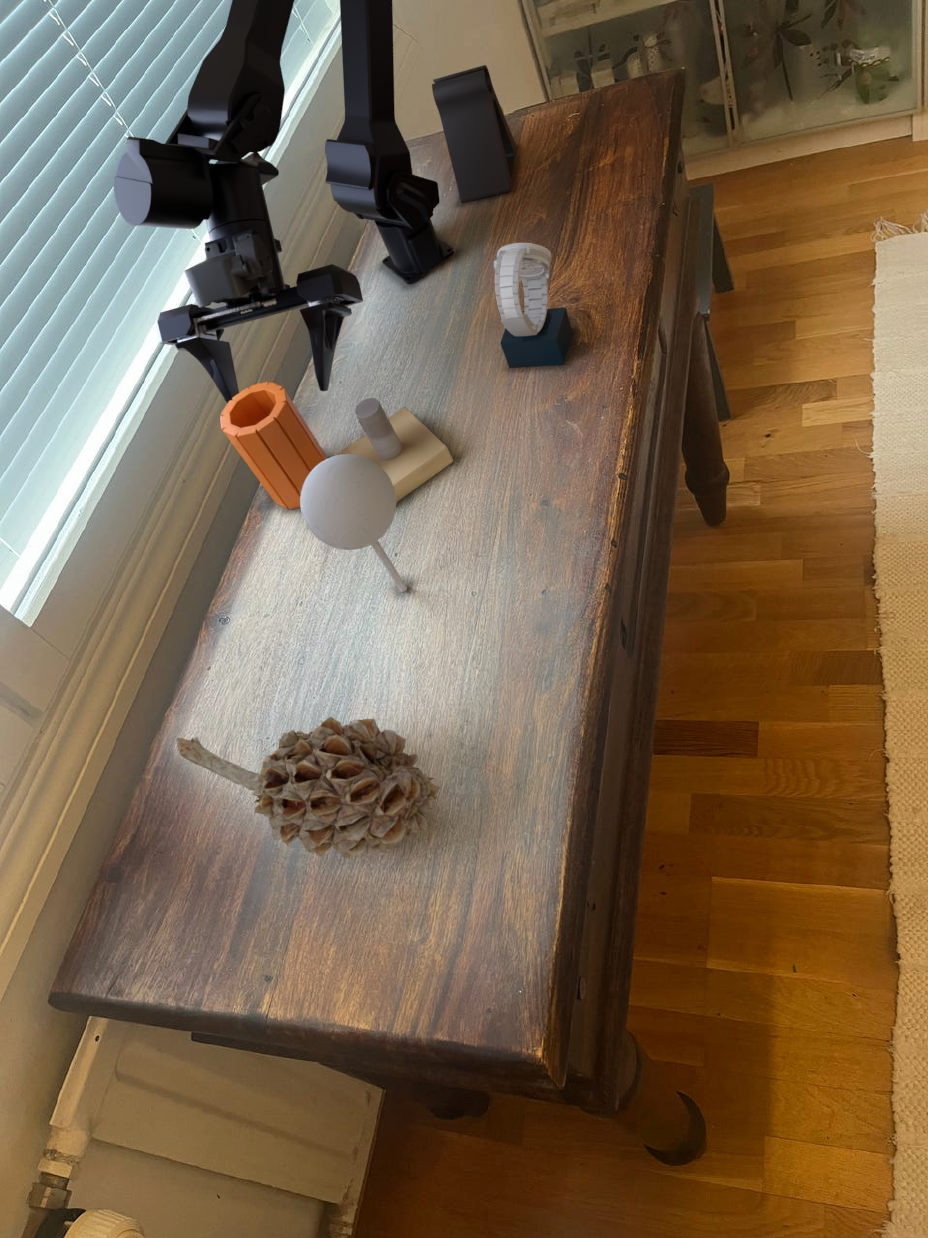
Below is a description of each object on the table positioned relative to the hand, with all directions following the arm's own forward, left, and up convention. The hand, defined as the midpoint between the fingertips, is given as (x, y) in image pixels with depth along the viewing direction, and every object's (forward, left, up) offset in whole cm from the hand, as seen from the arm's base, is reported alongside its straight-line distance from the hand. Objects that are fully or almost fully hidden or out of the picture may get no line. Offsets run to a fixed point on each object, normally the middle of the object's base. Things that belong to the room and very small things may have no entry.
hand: (279, 401), depth 87 cm
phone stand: (-22, +37, -7) cm, 44 cm away
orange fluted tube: (+4, -3, -6) cm, 8 cm away
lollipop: (+23, -2, -7) cm, 24 cm away
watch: (+8, +23, -7) cm, 26 cm away
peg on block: (+10, +5, -6) cm, 13 cm away
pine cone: (+35, -17, -7) cm, 40 cm away
